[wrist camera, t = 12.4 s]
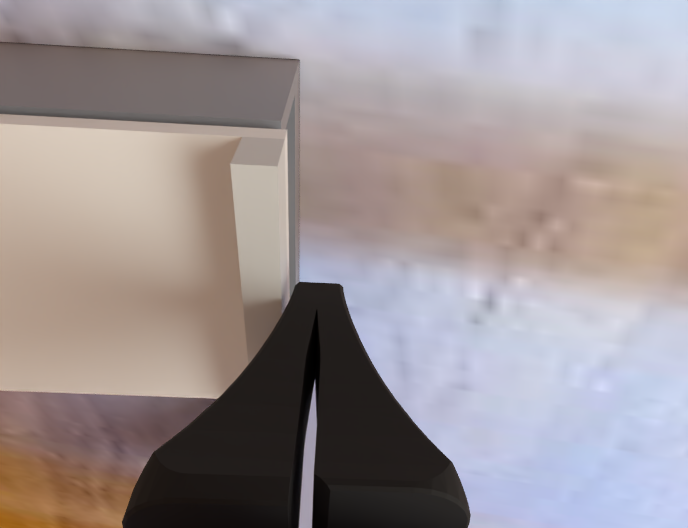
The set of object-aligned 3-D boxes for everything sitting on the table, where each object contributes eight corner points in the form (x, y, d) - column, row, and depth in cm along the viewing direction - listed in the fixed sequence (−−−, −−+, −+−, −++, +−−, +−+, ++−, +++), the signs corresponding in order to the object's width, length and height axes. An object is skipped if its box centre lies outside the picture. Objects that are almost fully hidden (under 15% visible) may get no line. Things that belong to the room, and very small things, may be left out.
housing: (299, 282, 23) (286, 383, 18) (-3, 268, 22) (-99, 368, 18) (299, 59, 17) (281, 121, 12) (-112, 35, 17) (-300, 89, 12)
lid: (290, 387, 18) (285, 438, 16) (-101, 372, 17) (-149, 423, 16) (287, 129, 12) (277, 166, 10) (-303, 97, 12) (-414, 130, 10)
